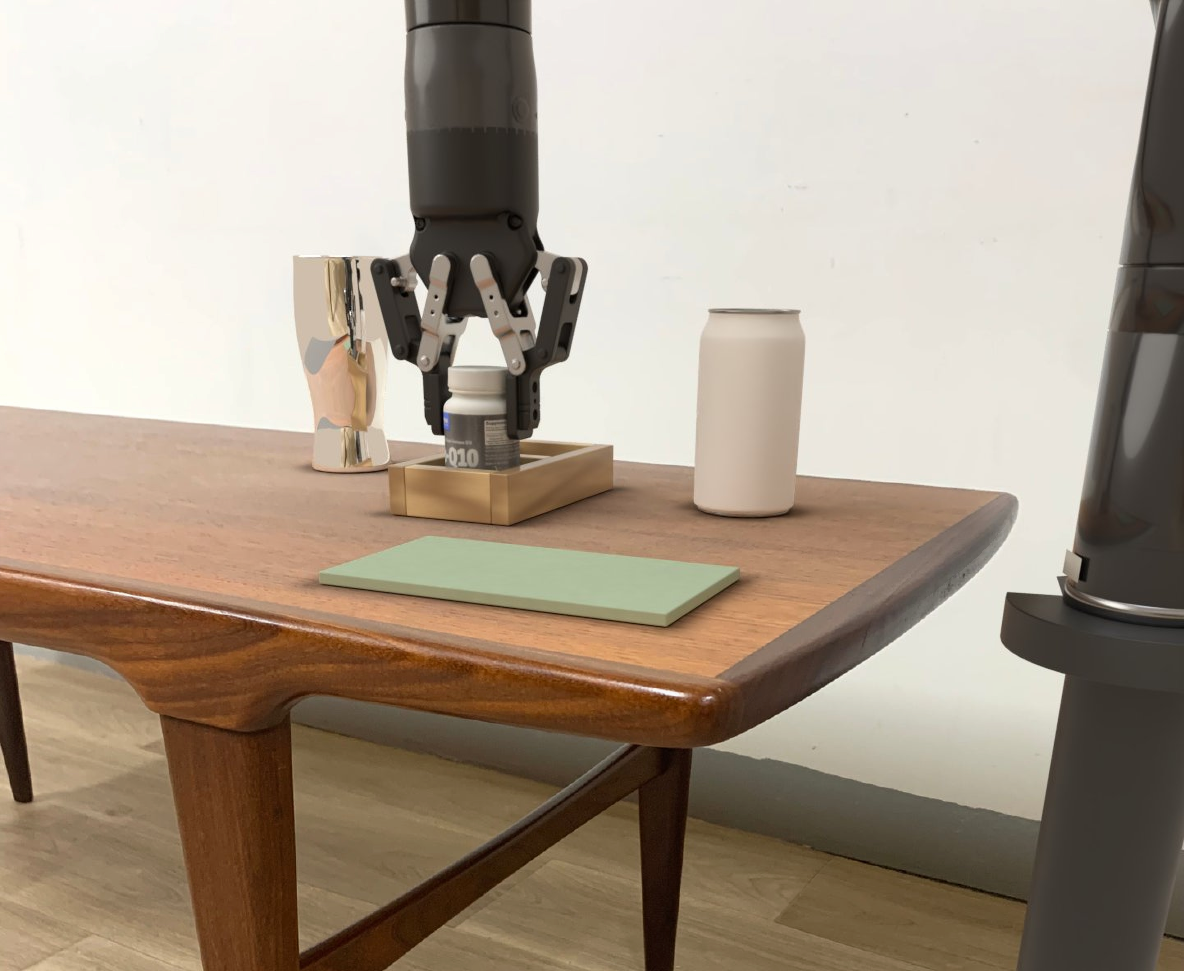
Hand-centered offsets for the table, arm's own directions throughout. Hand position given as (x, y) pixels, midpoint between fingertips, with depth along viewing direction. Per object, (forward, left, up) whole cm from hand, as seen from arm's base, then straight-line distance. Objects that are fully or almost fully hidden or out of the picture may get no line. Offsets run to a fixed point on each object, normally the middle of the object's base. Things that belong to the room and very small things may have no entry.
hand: (481, 435), depth 76 cm
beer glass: (+18, -12, -5) cm, 22 cm away
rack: (0, -4, -5) cm, 6 cm away
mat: (-12, +16, -5) cm, 21 cm away
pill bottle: (0, 0, -5) cm, 5 cm away
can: (-15, -8, -5) cm, 17 cm away
